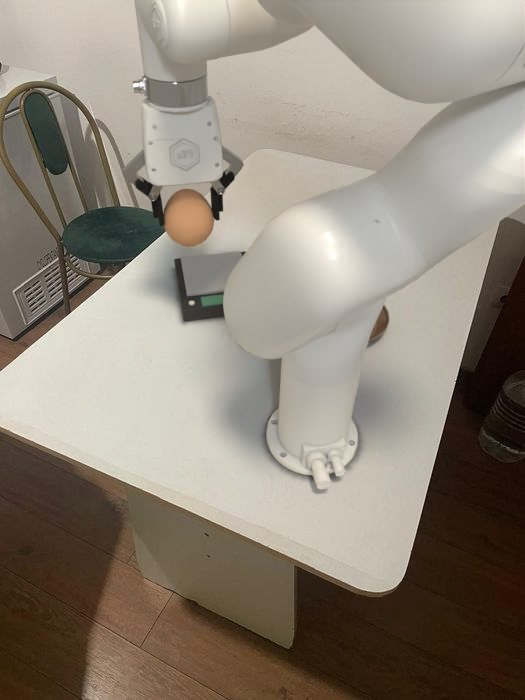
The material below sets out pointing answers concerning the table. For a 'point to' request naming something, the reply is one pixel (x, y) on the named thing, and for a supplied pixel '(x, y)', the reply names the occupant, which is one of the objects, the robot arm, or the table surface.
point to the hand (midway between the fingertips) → (188, 217)
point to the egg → (188, 218)
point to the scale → (204, 283)
